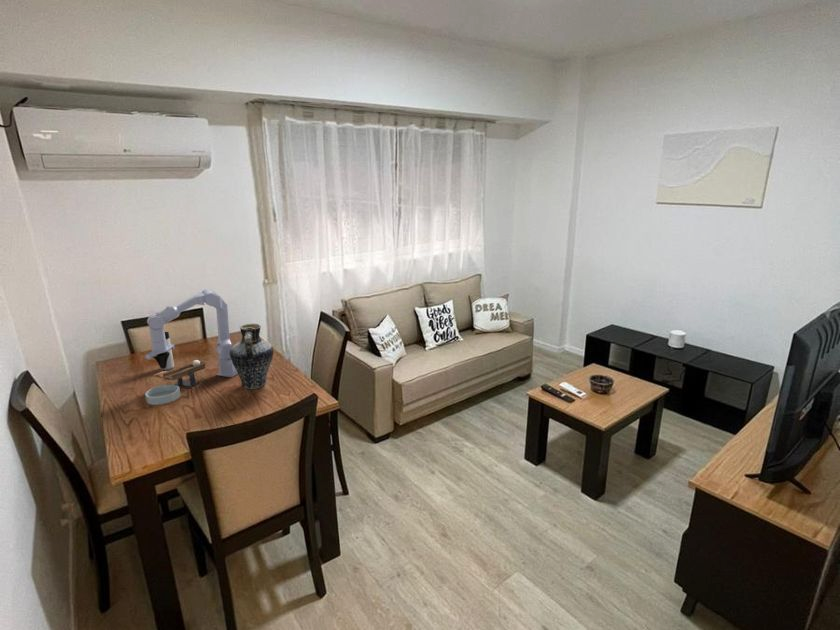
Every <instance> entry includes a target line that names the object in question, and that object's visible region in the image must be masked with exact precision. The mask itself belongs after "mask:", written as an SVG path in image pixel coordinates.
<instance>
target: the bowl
mask: <svg viewBox="0 0 840 630" xmlns="http://www.w3.org/2000/svg"><path fill="white" fill-rule="evenodd" d="M181 395H182V394H181V389H180V386H177V385H174V383H173V384H171V383H169V384H161V385H158V386H153V387H151V388H150V389H147V391H145V393H144V396H145V400H146V403H147V404H148V405H153V406H158V405H159V404H160V405H166V404H169V403H172V401H173V402H175V401H176V400H178V399H179V398H180V396H181ZM165 403H166V404H165Z"/></svg>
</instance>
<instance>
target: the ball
mask: <svg viewBox="0 0 840 630" xmlns="http://www.w3.org/2000/svg"><path fill="white" fill-rule="evenodd" d="M200 361H201V360H199V361H198V359H195V360H193V361H192V365H193V366H194V367H195V366H197V365H200Z"/></svg>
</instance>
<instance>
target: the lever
mask: <svg viewBox="0 0 840 630" xmlns="http://www.w3.org/2000/svg"><path fill="white" fill-rule="evenodd" d="M197 360H198V359H197ZM198 361H200V365H197V366H195V367H194V366H193V365H192V363H193V362H192V363H189V364H186V365H184V366H180V367H178V368H174V369H171V370H167V371H163V370H161V371H159V372H157V373H154V374H153V378H159V379H163V380H167V381H176V380H177V379H179V378H181V377H182V378H184V377H186V376H189V373H190V372H192V371H193V372H194V373H196V372H198V371H201V370H205V369H206V363H205V361H204V360H198ZM189 377H190V376H189Z"/></svg>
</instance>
